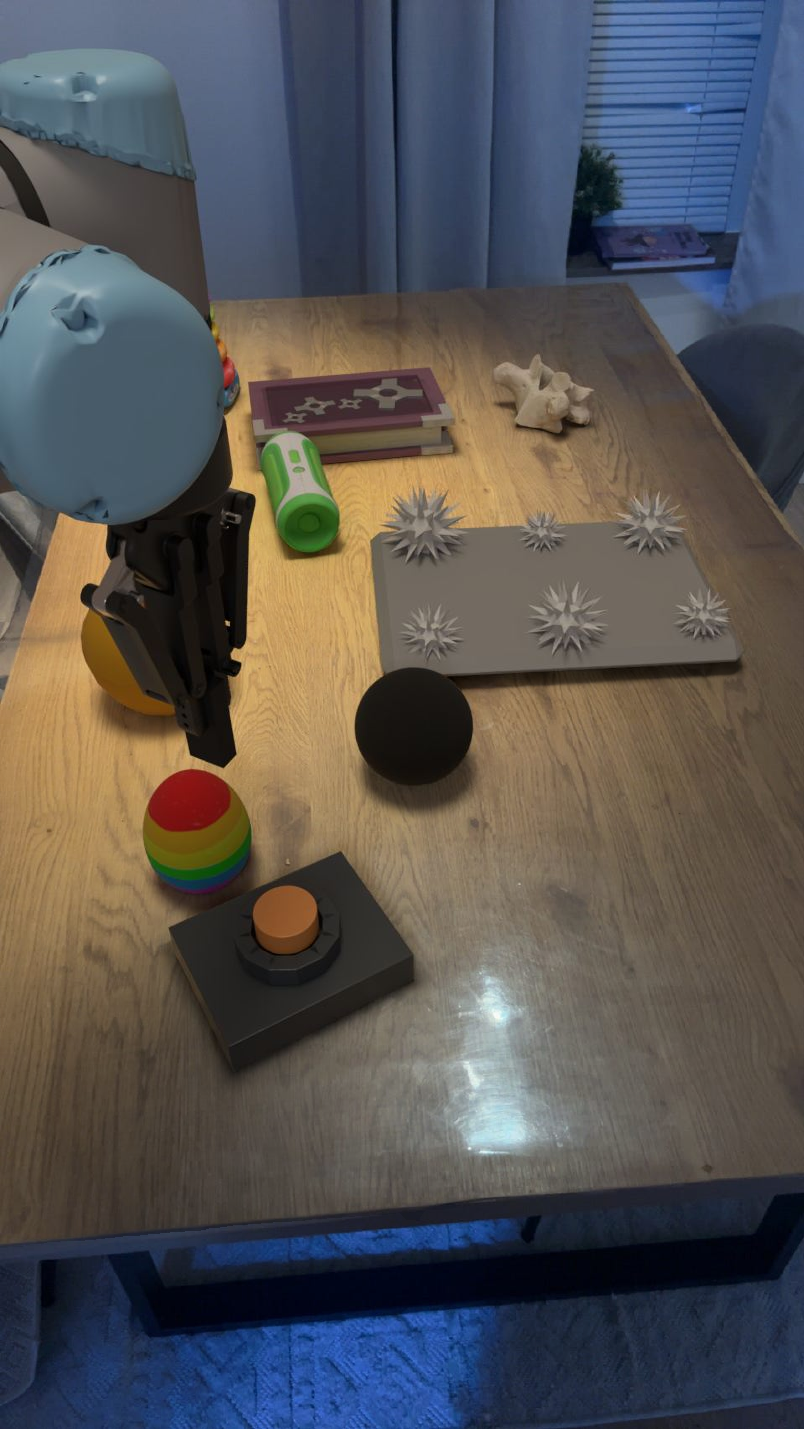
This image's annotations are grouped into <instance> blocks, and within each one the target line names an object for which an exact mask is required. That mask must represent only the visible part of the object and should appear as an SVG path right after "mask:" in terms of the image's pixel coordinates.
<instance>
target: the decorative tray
mask: <svg viewBox="0 0 804 1429" xmlns="http://www.w3.org/2000/svg"><path fill="white" fill-rule="evenodd" d="M437 487H438V485H436V486H435V487H434V490H433V492H432V494H431V496H430V498H429V500H427V495H426V491H425V489H423V490H422V487H421V483H420V482H419V483H418V495H417V492H416V490H415V487H414V485H413V483H412V496H411V495H410V492H408V491H406V494H407V498H408V502H409V503H408V502H407V501H406V500H404V498H402V497H401V496H400V495H399V494H397V493H395V495H396V496H397V498H398V499H399V500H398V499H396V498H395V497H393V496H391V498H392V499H393V501H394V502H395V503H396V505H397V507H398V508H397V507H396V506H393V505H390V507H391V508H392V509H393V510H394V512H396V513H397V514H395V513H390V512H385V511H384V512H383V513H384V514H386V515H387V516H389V517H390V518H392V519H394V520H381V523H385V524H380V526H381V527H385V528H388V529H392V530H391V531H390V530H388V531H379V532H378V533H377V534H376V535H374V537H373V538H371V539H370V540H369V544H370V554H371V555H370V556H371V567H372V577H373V578H372V579H373V590H374V599H375V609H376V618H377V619H376V621H377V630H378V631H377V632H378V641H379V654H380V663H381V671H382V672H383V673H385V674H387V673H389V672H392V671H394V670H398V669H402V668H408V667H419V668H426V669H430V670H433V671H436V672H438V673H440V674H442V675H444V676H446V677H447V678H449V677H466V676H483V675H484V676H485V675H503V674H523V673H543V672H545V673H546V672H562V671H563V672H564V671H583V670H585V671H586V670H600V669H621V668H639V667H660V666H661V667H662V666H683V665H700V664H715V663H716V664H719V663H734V662H737V661H738V660H739V659H740V657H741V656H742V655H743V654H744V653H745V648H744V647H743V644H742V642H741V641H740V639H739V637H738V635H737V632H736V631H735V629H734V628H733V626H732V623H731V622H730V620H731V619H732V618H731V617H727V614H726V613H727V612H730V611H731V609H732V607H729V608H723V607H722V606H723V605H724V604H725V601H726V599H724V600H721V599H720V600H719V599H718V596H719V594H720V592H718V593H717V594H716V593H715V591H714V589H713V588H712V586H711V584H710V582H709V580H708V578H707V576H706V575H705V572H704V571H703V568H702V567H701V564H700V563H699V561H698V559H697V558H696V555H695V553H694V551H693V550H692V547H691V546H690V544H689V542H688V540H687V539H686V538H687V537H685V535H684V534H685V533H684V531H687V530H688V529H687V528H684V527H680V525H678V524H677V523H676V522H677V521H679V520H682V519H684V518H685V517H686V518H687V516H688V514H684V515H678V516H671V515H672V514H673V513H674V512H675V511H676V510H677V509H678V508H679V507H680V506H681V505H682V503H680V504H678V505H676V506H674V507H671V508H669V509H667V508H666V507H667V506H668V504H669V501H670V499H671V497H672V495H673V493H671V494H669V495H668V496H667V497H666V498H665V500H663V502H662V499H660V496H661V495H660V494H661V491H660V490H659V492H658V493H657V494H656V492H654V495H653V498H652V500H651V501H650V497H649V493H648V490H647V489H645V490H643V493H642V494H643V496H642V504H641V502H640V501H639V500H638V498H636V496H635V495H634V494H633V498H632V497H629V499H630V501H631V503H632V505H633V506H632V505H631V504H629V503H628V502H627V501H625V500H622V502H624V504H625V506H626V508H627V510H628V511H629V512H630V514H631V515H630V514H625V513H621V512H615V514H616V515H618V516H620V517H621V518H623V519H617V520H616V521H595V522H576V523H575V522H573V523H561V522H562V520H563V518H561V519H559V520H556V521H554V520H555V517H556V514H557V512H553V513H552V514H551V515H550V510H548V511H547V513H546V511H543V514H542V511H541V509H539V510H538V509H536V515H535V514H534V512H531V515H532V516H531V515H530V514H529V513H527V515H528V517H529V518H528V517H527V516H526V515H524V517H525V519H524V520H525V522H526V523H527V524H528V525H527V524H522V523H519V525H507V526H506V525H505V526H484V527H483V526H482V527H481V526H479V527H461V528H460V527H459V528H458V527H457V528H453V527H452V526H454V525H456V524H459V523H460V522H459V521H460V520H463V519H464V518H465V517H468V515H461V516H453V517H448V516H449V515H450V514H451V513H452V512H453V511H454V510H455V509H456V508H457V507H459V505H460V504H461V503H462V501H459V502H458V503H456V504H454V505H452V506H450V504H448V505H446V506H445V507H443V505H444V502H445V500H446V497H447V495H448V493H449V490H447V491H446V492H445V493H444V494H443V491H441V492H440V493H439V494H438V496H437V497H436V494H437ZM633 499H634V500H633ZM442 507H443V508H442ZM666 509H667V510H666ZM549 515H550V516H549ZM670 516H671V517H670Z"/></svg>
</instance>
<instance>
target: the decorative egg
mask: <svg viewBox="0 0 804 1429" xmlns="http://www.w3.org/2000/svg"><path fill="white" fill-rule="evenodd" d="M252 838H253V836H252V824H251V819H250V816H249V813H248V810H247V809H246V806H245V804H244V802H243V800H242V799H241V797H240V796H239V795H238V793H237V791H235V789H234V788H233V787H232V786H231V785H230V784H229V783H228V782H226V780H224V779H223V778H221V777H220V776H218V775H216V774H214V773H212V772H210V771H206V770H202V769H199V768H187V769H181V770H179V771H177V772H174V773H172V774H171V775H169V776H167V777H166V778H165V779H163V781H162V782H160V784H159V785H158V786H157V787H156V789H155V790H154V792H152V795H151V796H150V798H149V801H148V803H147V806H146V808H145V812H144V815H143V822H142V841H143V847H144V851H145V854H146V857H147V859H148V862H149V864H150V865H151V867H152V869H153V870H154V872H155V873H156V874H157V875H158V877H159V878H160V879H161V880H162V881H163V882H165V883H166V884H167V885H169V886H170V887H172V888H174V889H175V890H178V891H181V892H183V893H188V894H193V895H205V894H210V893H214V892H217V891H219V890H221V889H223V888H225V887H226V886H228V885H229V884H231V883H232V882H233V881H234V880H235V879H236V878H237V877H238V876H239V875H240V874H241V872H242V870H243V869H244V868H245V865H247V864H246V863H247V862H248V859H249V856H250V852H251V848H252Z"/></svg>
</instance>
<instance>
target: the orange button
mask: <svg viewBox="0 0 804 1429" xmlns="http://www.w3.org/2000/svg"><path fill="white" fill-rule="evenodd" d="M253 920H254V926H255V931H256V936H257V939H258V941H259V943H260V944H261V945H262V946H263V947H264V948H265V949H266V950H268V951H270V952H272V953H275V954H281V955H289V954H294V953H298V952H300V951H302V950H304V949H306V948H307V947H308V946H309V945H311V944H312V942H313V941H314V940H315V938H316V936H317V934H318V931H319V920H318V911H317V904H316V901H315V899H314V898H313V896H312V895H311V894H310V893H309V892H307V891H306V890H304V889H302V888H300V887H296V886H279V887H276V888H273V889H271V890H269V891H267V892H266V893H264V894H263V895H262V896H261V897H260V898H259V899H258V901H257V902H256V904H255V906H254V909H253Z"/></svg>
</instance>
